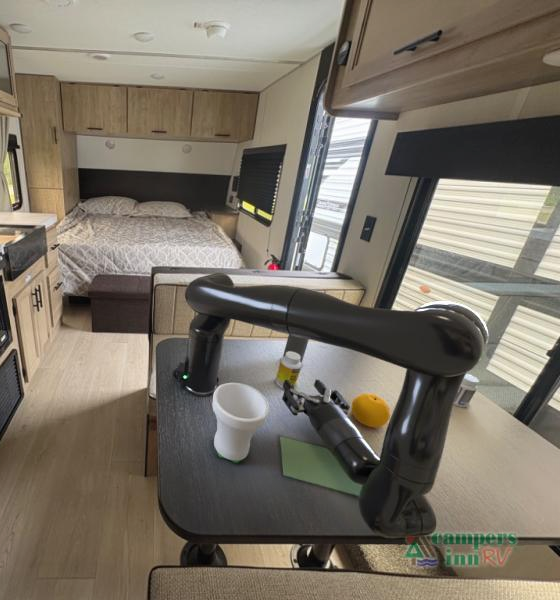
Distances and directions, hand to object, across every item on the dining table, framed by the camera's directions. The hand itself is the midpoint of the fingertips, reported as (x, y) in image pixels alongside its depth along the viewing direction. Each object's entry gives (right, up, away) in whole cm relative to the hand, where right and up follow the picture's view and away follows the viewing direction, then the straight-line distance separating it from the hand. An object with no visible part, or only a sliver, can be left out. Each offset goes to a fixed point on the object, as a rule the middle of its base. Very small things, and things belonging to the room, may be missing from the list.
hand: (300, 382), depth 80 cm
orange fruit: (+15, -9, -3) cm, 18 cm away
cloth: (-2, -14, -16) cm, 21 cm away
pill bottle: (+47, -7, +6) cm, 48 cm away
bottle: (+5, +1, +18) cm, 19 cm away
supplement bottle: (-1, -3, +8) cm, 9 cm away
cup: (-22, -11, -13) cm, 28 cm away
